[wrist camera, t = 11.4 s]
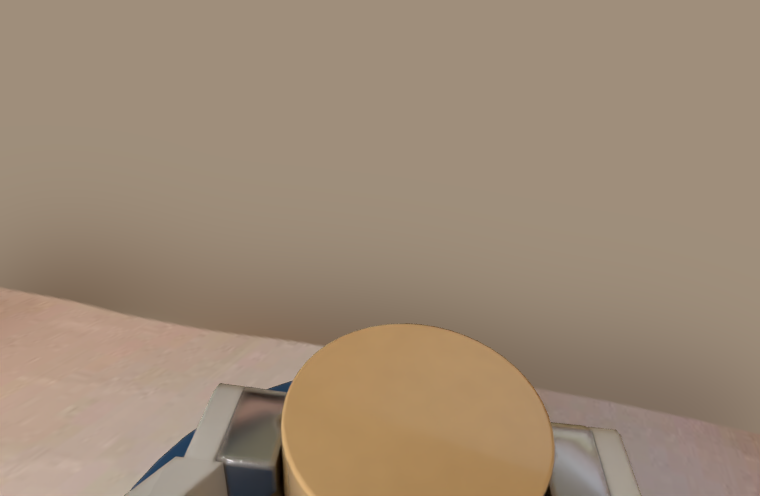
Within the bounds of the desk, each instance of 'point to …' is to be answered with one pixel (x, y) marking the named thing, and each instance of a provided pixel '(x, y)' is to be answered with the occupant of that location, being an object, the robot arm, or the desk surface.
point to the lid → (409, 420)
